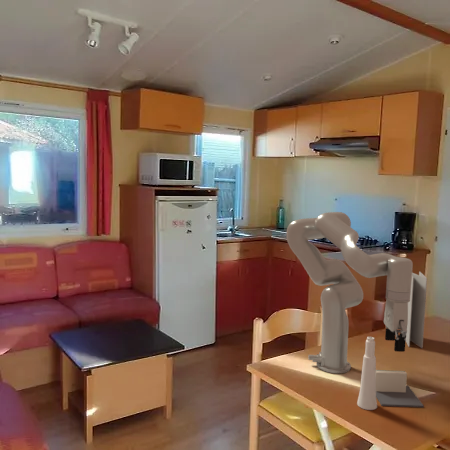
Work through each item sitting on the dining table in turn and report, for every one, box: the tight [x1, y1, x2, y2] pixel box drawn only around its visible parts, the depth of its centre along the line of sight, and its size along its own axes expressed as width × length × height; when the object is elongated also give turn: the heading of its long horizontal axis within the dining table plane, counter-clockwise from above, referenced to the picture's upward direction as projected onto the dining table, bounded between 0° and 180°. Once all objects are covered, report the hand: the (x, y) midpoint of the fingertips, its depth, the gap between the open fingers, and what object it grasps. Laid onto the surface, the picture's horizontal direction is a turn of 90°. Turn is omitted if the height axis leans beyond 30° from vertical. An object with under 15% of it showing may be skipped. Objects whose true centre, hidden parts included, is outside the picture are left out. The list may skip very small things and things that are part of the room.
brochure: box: [405, 271, 428, 349], centre depth 201 cm, size 14×6×30 cm, turn 168°
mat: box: [376, 384, 425, 408], centre depth 152 cm, size 13×14×1 cm
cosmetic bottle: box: [356, 336, 378, 411], centre depth 144 cm, size 6×6×22 cm
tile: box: [376, 369, 408, 392], centre depth 154 cm, size 10×2×6 cm, turn 87°
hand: (394, 345), depth 153 cm, fingers open, 9 cm apart
